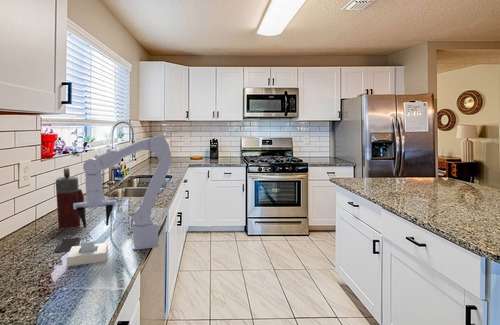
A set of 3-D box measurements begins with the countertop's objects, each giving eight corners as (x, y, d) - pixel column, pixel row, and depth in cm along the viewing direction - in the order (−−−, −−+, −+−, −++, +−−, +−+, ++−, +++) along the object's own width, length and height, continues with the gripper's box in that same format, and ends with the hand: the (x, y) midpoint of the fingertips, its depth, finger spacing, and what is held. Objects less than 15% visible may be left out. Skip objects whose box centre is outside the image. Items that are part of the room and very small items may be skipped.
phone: (53, 250, 127) (60, 239, 141) (54, 253, 127) (60, 242, 141) (77, 248, 130) (81, 237, 144) (77, 251, 130) (81, 239, 144)
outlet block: (107, 250, 129) (107, 242, 129) (105, 261, 118) (105, 252, 118) (72, 254, 125) (72, 246, 125) (67, 266, 114) (66, 257, 114)
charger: (95, 254, 124) (94, 238, 124) (94, 258, 120) (93, 241, 120) (83, 256, 123) (82, 239, 122) (81, 260, 119) (80, 242, 118)
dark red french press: (85, 226, 164) (82, 168, 161) (58, 229, 159) (54, 169, 157) (85, 221, 172) (82, 166, 170) (60, 224, 167) (56, 167, 165)
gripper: (71, 193, 121) (73, 230, 123) (114, 190, 127) (116, 226, 128) (73, 190, 128) (75, 226, 129) (115, 187, 133) (116, 222, 134)
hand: (96, 225), depth 129 cm, fingers open, 7 cm apart
